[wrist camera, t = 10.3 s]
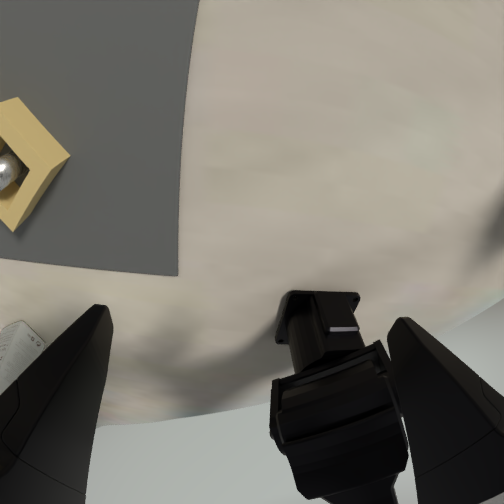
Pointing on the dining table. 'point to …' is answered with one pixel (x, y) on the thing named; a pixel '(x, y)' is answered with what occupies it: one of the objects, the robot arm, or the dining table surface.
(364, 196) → the dining table surface
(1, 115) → the link
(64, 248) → the mat
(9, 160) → the cylinder
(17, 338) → the skincare box
